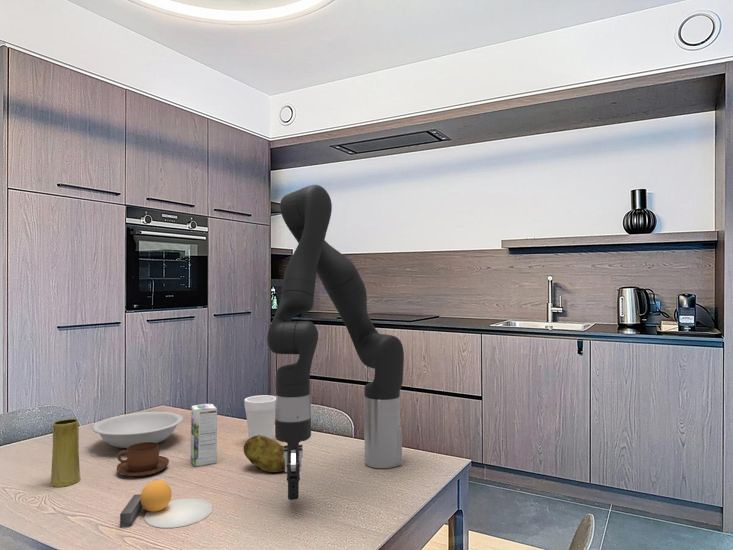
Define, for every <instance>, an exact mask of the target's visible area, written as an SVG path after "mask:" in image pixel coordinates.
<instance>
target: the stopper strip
mask: <svg viewBox="0 0 733 550" xmlns="http://www.w3.org/2000/svg"><path fill="white" fill-rule="evenodd" d="M140 495H141V493H139V494H138V493H137V494H133V496H132V497H131V499H130V500H128V502H127V504H126V506H125V507H123V510H121V512H120V513H119V527H120V528H122V527H124V528H125V527H132V526H133V524H134V523H135V521H136V519H137V518H138V517H139V516H140V513H141V512H142V510H143V509H144V508H143V506H142V504H141V501H140Z"/></svg>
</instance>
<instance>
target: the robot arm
mask: <svg viewBox="0 0 733 550" xmlns="http://www.w3.org/2000/svg"><path fill="white" fill-rule="evenodd" d="M279 207H280V208H279V209H280V214H281V217H282V220H283V221H284V223H285V225H286V226H287V228H288V230H289V231H290V232H291V234H292V236H293V237H294V239H295V240H296V242H297V243H298V244H297V246H296V248H295V250H294V252H293V253H292V255H291V257H290V259H289V261H288V264H287V266H286V267H285V271H284V276H283V281H282V288H281V294H280V301H279V303H278V306H277V309H276V312H275V314H274V316H273V319H272V321H271V323H270V325H269V329H268V331H267V337H266V342H267V346H268V348H269V350H270V351H271V352H272V353H273V354H277V355H298V358H297V359H298V360H297V361H296V362H295V363H291V364H286V365H283V366H280V367H278V368H277V370H276V374H275V375H276V377H275V378H276V379H275V380H276V381H275V387H276V390H275V391H276V393H275V394H276V395H275V397H276V402H275V425H274V435H275V436H274V437H275V439H276V441H278V442H280V443H286V444H287V445H283V446H284V459H285V471H284V472H285V473H287V474H286V482H287V499H288V500H289V501H293V500H294V501H295V500H299V497H300V496H299V494H300V492H299V490H300V489H299V486H300V485H299V483H300V480H301V476H300V472H301V471H302V460H303V455H304V452H303V451H304V450H303V444H300V443H301V442H305V441H307V440H309V439H310V438H311V437H312V400H311V393H310V392H311V387H310V385H311V384H310V383H311V379H310V378H311V369H312V363H313V360H314V355H315V353H316V349H317V345H318V341H319V332H318V328H317V327H316V324H314V323H313V322H312V321H311V320H292V319H293V318H294V317H295V316H297V315H301V314H305V313H308V312H310V311H312V308H313V306H314V298H315V297H314V296H315V289H316V288H315V287H316V278H317V276H318V278H319V279H320V282H321V284H322V286H323V288H324V290H325V291H326V293H327V295H328V297H329V299H330V301H331V302H332V304H333V306H334V307H335V309H336V311H337V313H338V315H339V318H341V321H342V322H343V324H344V327H345V328H346V330H347V332H348V335H349V338H350V339H351V341H352V344H353V347H354V349H355V352H356V354H357V356H358V358H359V360H360V362H361V363H362V364H363V365H364V366H366V367H367V368H370V369H373V370H374V375H373V376H374V377H373V381H371V382H368V383H367V384H365V386H364V392H363V393H364V400H363V401H364V403H363V405H364V407H363V408H364V409H363V410H364V411H363V413H364V419H363V420H364V421H363V422H364V424H363V425H364V427H363V428H364V436H363V437H364V440H363V441H364V455H363V457H364V464H365V465H366V466H368V467H370V468H375V469H390V468H395V467H399V466H403V430H402V426H401V419H400V418H401V416H400V415H401V414H400V411H401V406H400V405H401V403H400V402H401V398H400V397H401V394H400V393H401V388H402V386H403V381H404V365H405V364H404V363H405V360H404V359H405V352H404V351H405V350H404V346H403V344H402V341H401V340H400V339H399V337H397V336H396V335H392V334H385V333H380V332H378V330H377V329H376V328H375V326H374V324H373V322H372V320H371V318H370V315H369V313H368V307H367V306H368V303H367V302H368V298H367V297H368V295H367V288H366V286H365V283H364V281H363V279H362V277H361V275H360V273H359V271H358V269H357V267H356V266H355V264H354V263H353V262H352V261H351V260H350V259H349V258H348V257H347V256H346V255H344V254H343V253H341V252H340V251H339V250H338V249H335V247H334V246H332V245H331V244H329V243H328V242H327V241H326V240H325V238H326V236H327V232H328V228H329V224H330V221H331V216H332V211H333V209H332V208H333V205H332V199H331V197H330V195H329V193H328V191H327V190H326V189H325V188H324V187H323V186H321V185H319V184H312V185H307V186H304V187H302V188H299V189H297V190H294V191H292V192H289V193H288V194H285V195H284V196H283V197H282V198H281V200H280V204H279ZM287 456H288V461H287Z"/></svg>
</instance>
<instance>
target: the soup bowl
mask: <svg viewBox="0 0 733 550" xmlns="http://www.w3.org/2000/svg"><path fill="white" fill-rule="evenodd" d="M183 422H184V418H183V415H181V414H178V413H175V412H171V411H170V412H169V411H142V412H132V413H126V414H121V415H116V416H111V417H108V418H104V419H102V420H99V421H98V422H96V423H95V424H93V425H92V427H91V429H92V431H93V432H94V433H96V434H98V435H99V436H100V437H101V439H102V440H103V441H104V442H106V443H107V444H109V445H111V446H113V447H115V448H121V449H127V448H128V447H129V446H131V445H134V444H138V443H144V442H154V443H158V444H159V443H161V442H163V441H164V440H166V439H167V438H168V437H170V436H171V435H172V433H174V431H175V429H176V428H177V426H178V425H181V423H183Z"/></svg>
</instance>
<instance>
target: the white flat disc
mask: <svg viewBox="0 0 733 550" xmlns="http://www.w3.org/2000/svg"><path fill="white" fill-rule="evenodd" d="M212 512H213V505H212V504H211V503H210V501H208V500H205V499H200V498H178V499H173V500H170V502H169V504H168V505H167V506H166V507H165V508H164V509H162V510H160V511H157V512H150V511H147V512H146V513H145V515H144V522H145V523H146V524H147V525H149V526H151V527H154V528H158V529H175V528H182V527H187V526H191V525H194V524H196V523H199V522H201V521H203V520H205V519H206V518H207V517H209V516H210V515H211V514H212Z"/></svg>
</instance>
